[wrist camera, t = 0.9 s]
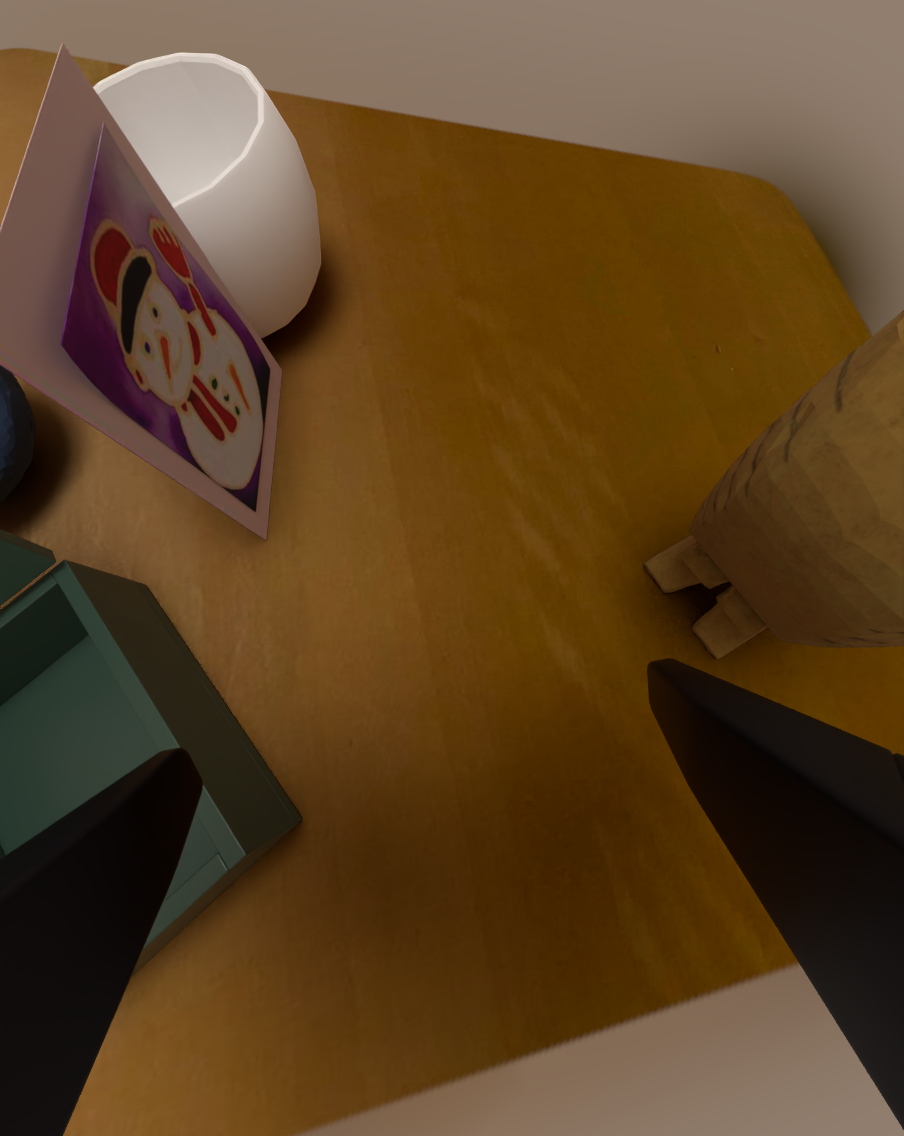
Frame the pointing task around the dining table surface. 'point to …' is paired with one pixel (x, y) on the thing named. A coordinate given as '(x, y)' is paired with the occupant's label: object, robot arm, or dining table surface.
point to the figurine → (809, 517)
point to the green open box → (124, 730)
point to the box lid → (20, 563)
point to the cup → (226, 175)
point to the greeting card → (131, 310)
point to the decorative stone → (14, 433)
